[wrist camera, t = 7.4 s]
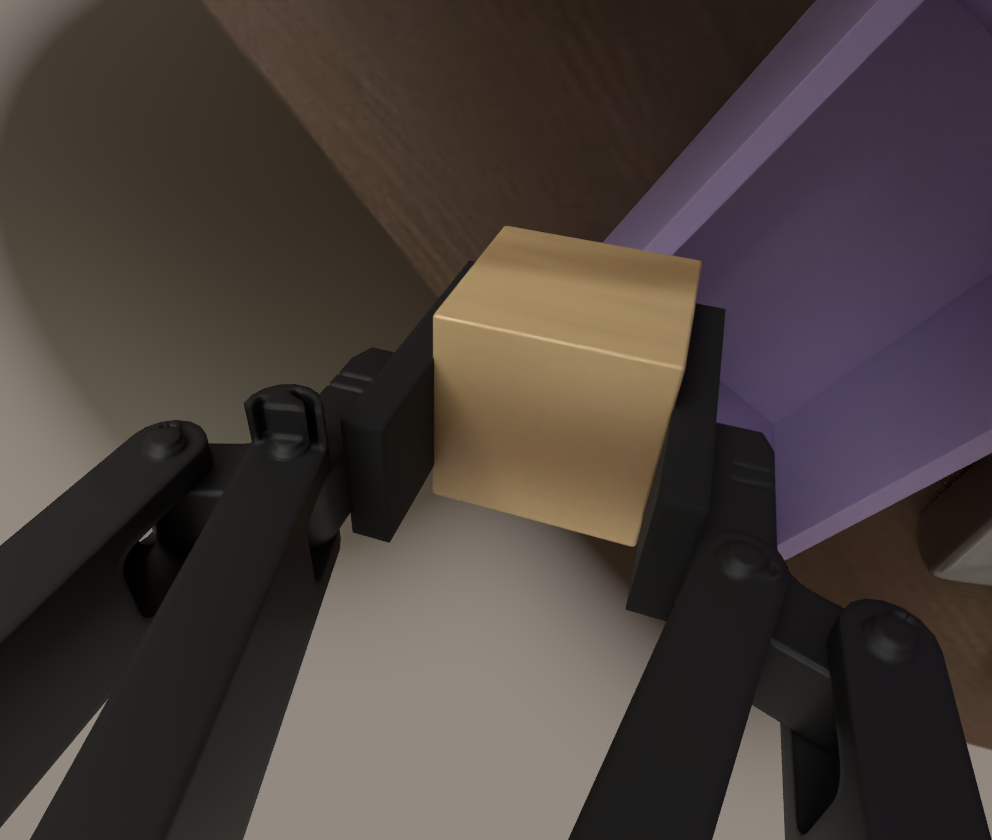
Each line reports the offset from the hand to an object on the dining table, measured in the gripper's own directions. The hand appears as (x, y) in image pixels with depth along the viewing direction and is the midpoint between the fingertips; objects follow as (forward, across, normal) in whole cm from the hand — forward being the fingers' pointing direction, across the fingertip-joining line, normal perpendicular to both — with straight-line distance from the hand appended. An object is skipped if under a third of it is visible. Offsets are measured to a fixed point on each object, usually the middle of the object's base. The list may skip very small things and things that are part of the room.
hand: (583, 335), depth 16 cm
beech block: (0, 0, 0) cm, 0 cm away
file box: (+15, +7, -2) cm, 16 cm away
